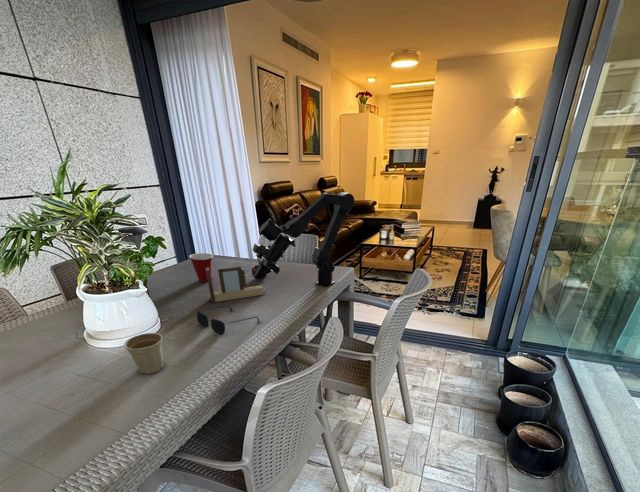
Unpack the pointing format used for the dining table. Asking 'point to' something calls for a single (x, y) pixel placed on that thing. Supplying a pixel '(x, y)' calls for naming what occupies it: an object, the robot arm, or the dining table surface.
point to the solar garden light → (133, 237)
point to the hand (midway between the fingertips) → (255, 278)
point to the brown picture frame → (232, 279)
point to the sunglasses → (215, 321)
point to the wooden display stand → (234, 294)
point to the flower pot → (146, 352)
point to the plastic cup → (202, 265)
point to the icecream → (255, 272)
